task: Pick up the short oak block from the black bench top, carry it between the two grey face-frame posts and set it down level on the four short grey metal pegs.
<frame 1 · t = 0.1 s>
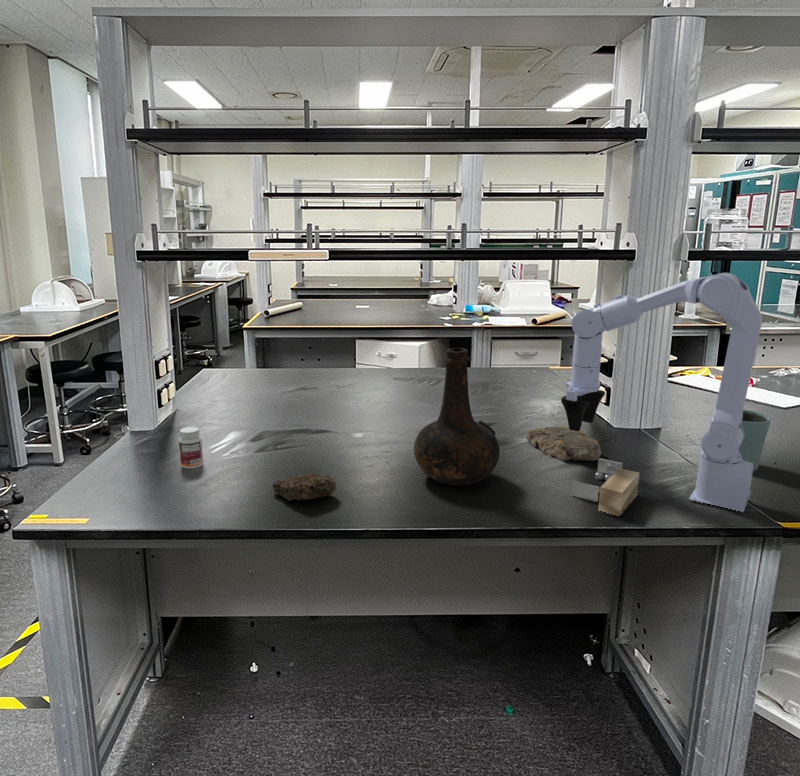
hand: (581, 426, 133), 10 cm above the table, tool pointing down, fingers open, 7 cm apart
pill bottle: (192, 466, 136), on the table
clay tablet: (566, 452, 147), on the table
green ceramic planter: (737, 466, 139), on the table
peg frame: (597, 485, 126), on the table
brown rock: (305, 497, 120), on the table
glass bottle: (455, 478, 130), on the table
oak block: (618, 503, 118), on the table
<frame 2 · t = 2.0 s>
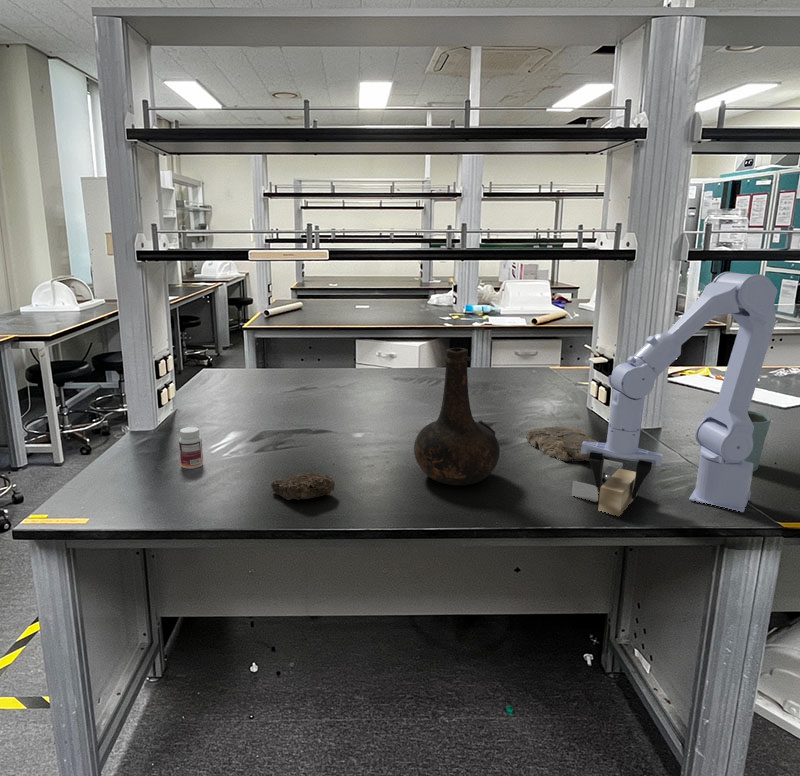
hand: (615, 493, 118), 2 cm above the table, tool pointing down, fingers open, 6 cm apart
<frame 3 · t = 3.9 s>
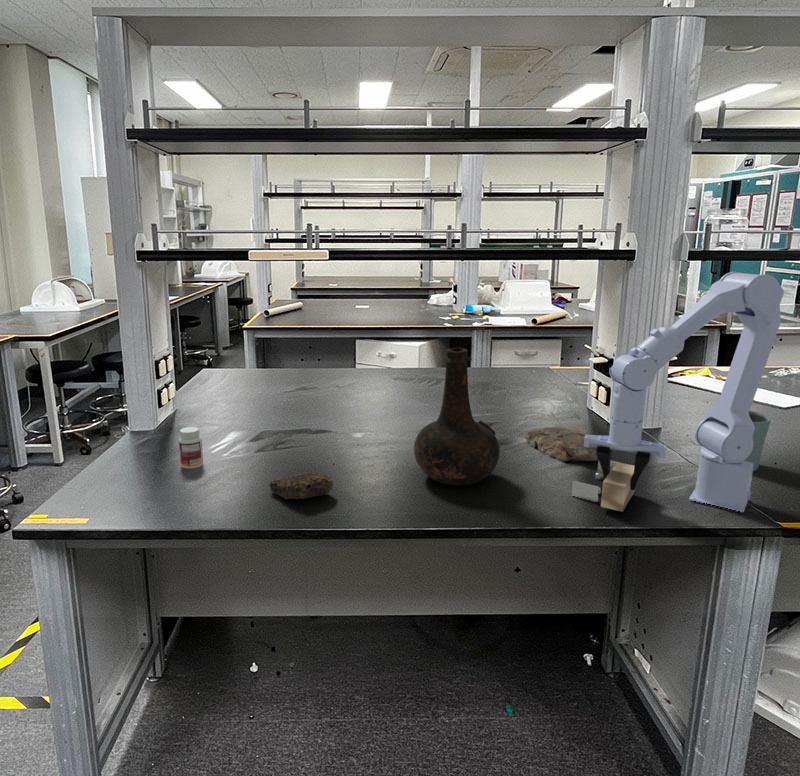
hand: (619, 486, 118), 3 cm above the table, tool pointing down, fingers closed on oak block, 4 cm apart
oak block: (618, 497, 118), point 1 cm above the table, touching gripper
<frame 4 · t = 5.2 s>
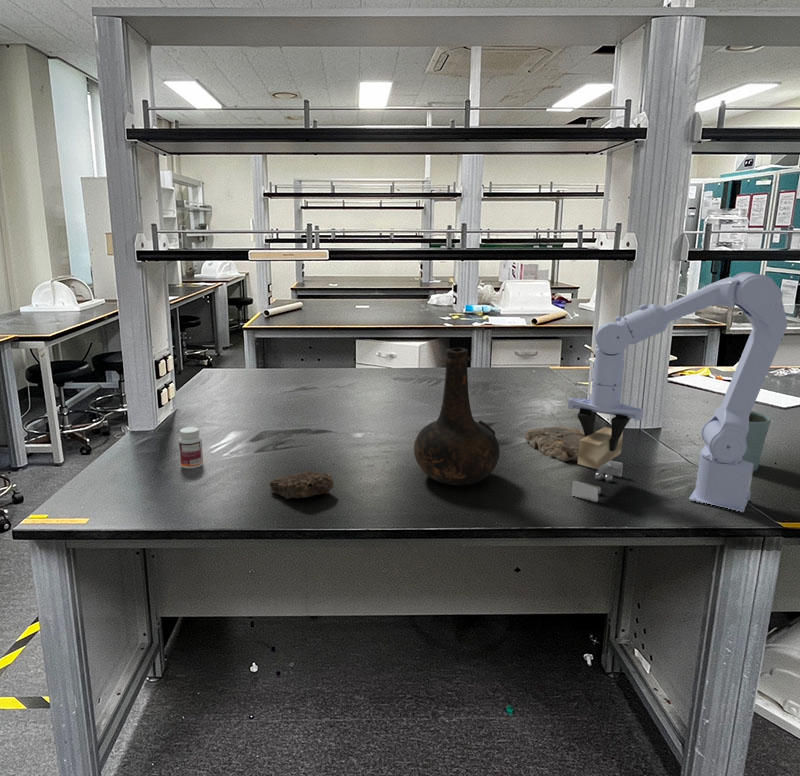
hand: (601, 447, 124), 8 cm above the table, tool pointing down, fingers closed on oak block, 4 cm apart
oak block: (599, 458, 125), point 6 cm above the table, touching gripper
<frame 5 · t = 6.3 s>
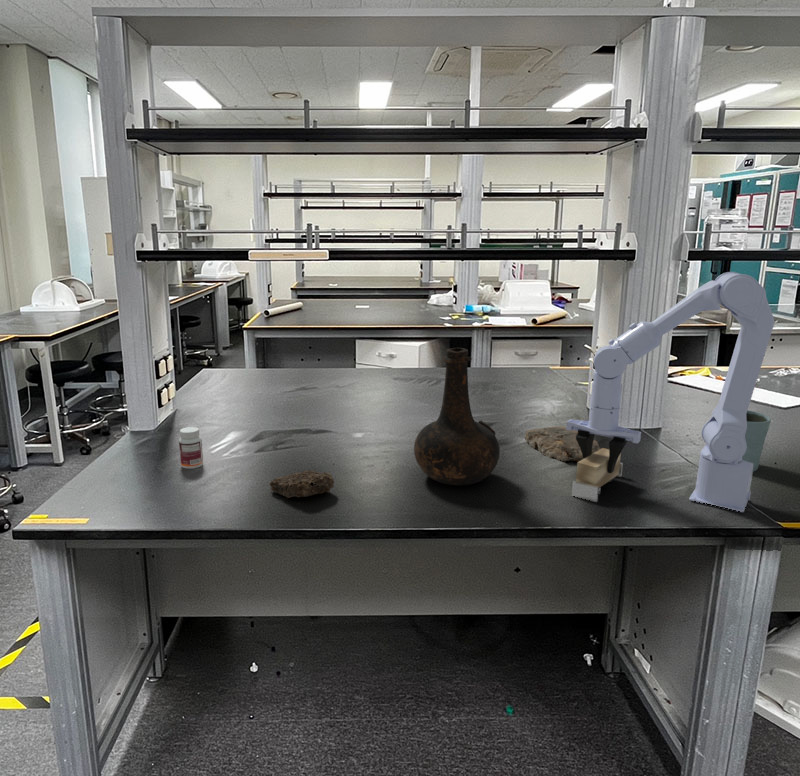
hand: (599, 468, 126), 4 cm above the table, tool pointing down, fingers closed on oak block, 4 cm apart
oak block: (597, 479, 126), point 1 cm above the table, touching gripper
when the fingers open (4 cm above the table, at t = 6.8 s): oak block stays where it is, resting on peg frame.
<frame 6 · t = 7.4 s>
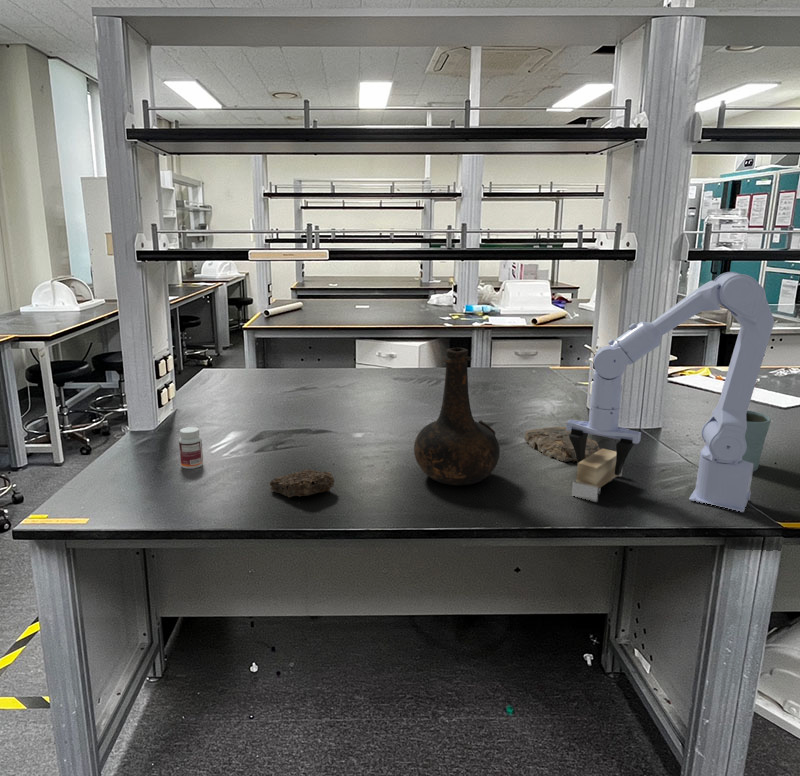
hand: (599, 469, 126), 4 cm above the table, tool pointing down, fingers open, 7 cm apart
oak block: (597, 480, 126), point 1 cm above the table, touching peg frame
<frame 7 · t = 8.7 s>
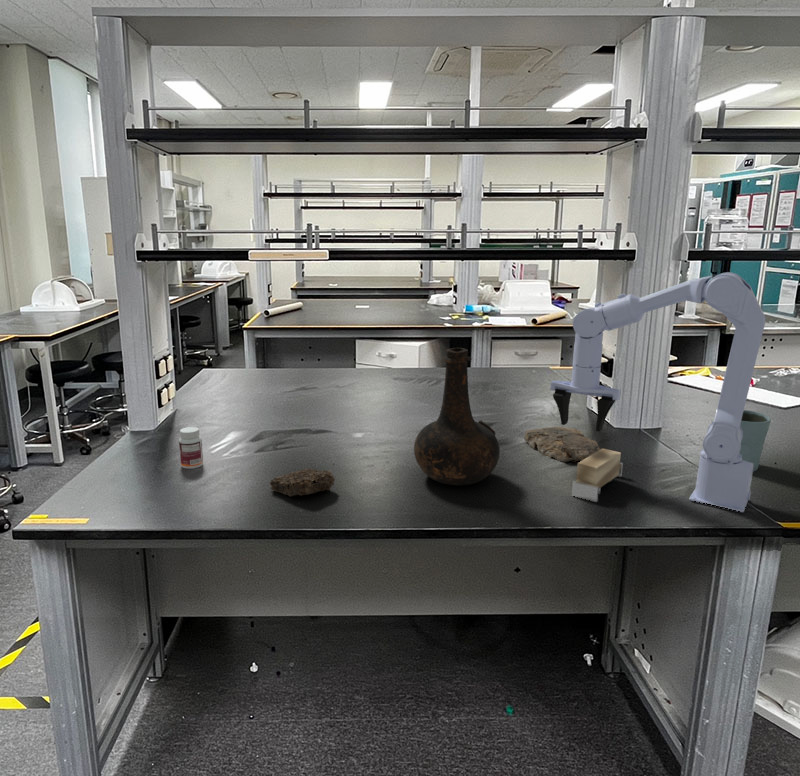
hand: (581, 426, 131), 10 cm above the table, tool pointing down, fingers open, 7 cm apart
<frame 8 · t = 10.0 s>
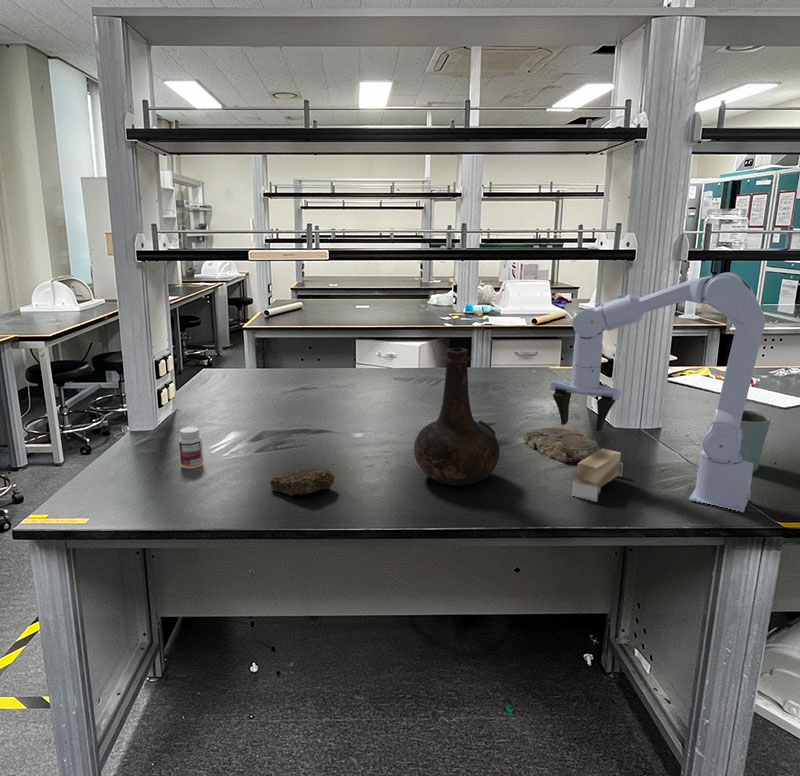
hand: (581, 426, 131), 10 cm above the table, tool pointing down, fingers open, 7 cm apart
at the end: oak block 0.1 cm off-centre on the peg frame, point 1.2 cm above the peg frame's base; oak block tilted 0°; the gripper is holding nothing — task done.
